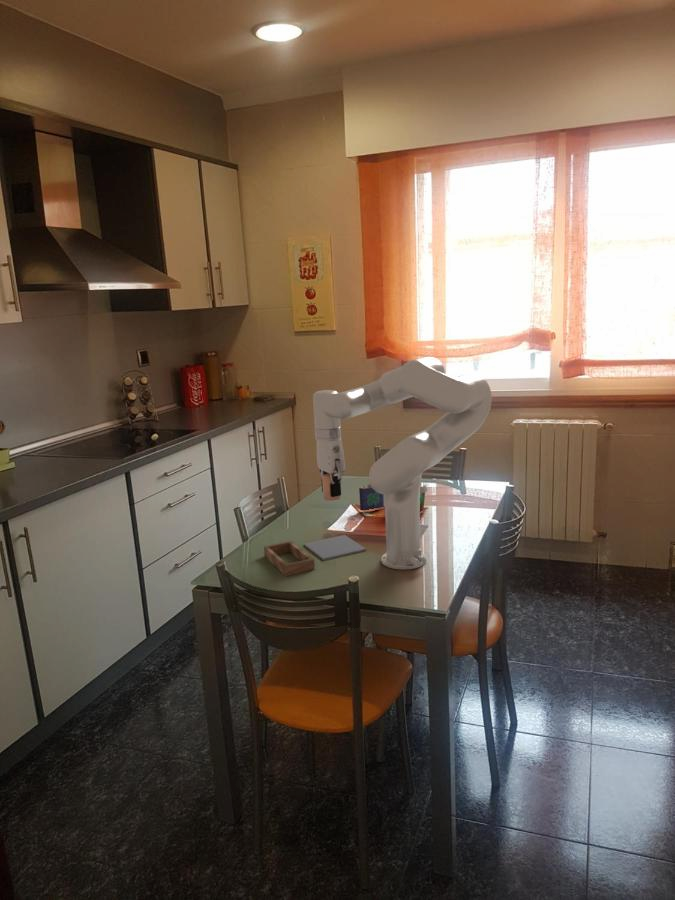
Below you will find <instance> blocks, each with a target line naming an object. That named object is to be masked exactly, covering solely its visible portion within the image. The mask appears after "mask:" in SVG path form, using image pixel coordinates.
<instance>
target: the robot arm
mask: <svg viewBox="0 0 675 900" xmlns="http://www.w3.org/2000/svg"><path fill="white" fill-rule="evenodd" d="M445 372H446V370H445V367H444V365H443V363H442V362H441V361H440V360H439V359H438V358H437V357H436V358H435V357H433V356H424V357H420V358H415V359H412V360H409V361H407V362H405V363H404V364H403V365H402V366H399V367H397V368H393V369H391V370H389V371H386V372H385V373H383V374H382V375H381V377H380V378H379V379H377V380H375V381H373V382H372V381H371V382H370V383H368V384H365V385H362V386H359V387H356V388H352V389H349V390H346V391H342V392H338V391H337V390H335V389H325V390H324V389H323V390H317V391H315V392H314V393H313V395H312V402H313V403H312V404H313V421H314V434H315V435H314V436H315V437H314V438H315V440H316V465H317V468H318V469H319V472H320V473H319V474H320V479H321V481H320V482H322V475H323V474H326V473H329V474H330V479H331V484H330V494H331V497H336V496H340V497H341V495H342V486H341V485H342V478H343V477H344V472H345V471H346V460H345V453H344V451H345V450H344V447H343V441H342V425H341V424H342V423H341V421H342V420H348V419H351V418H355V417H357V416H360V415H363V414H366V413H370V412H371V411H374V410H376V409H379V408H382V407H385V406H387V405H390V404H392V405H393V404H397V403H399V402H402V401H405V400H407V399H410V398H413V397H414V398H416V399H418V400H420V401H422V402H423V403H426V404H428V405H430V406H431V407H435V408H437V409H438V410H441V411H443V412H444V413H445V412H446V413H445V414H443V415H442V416H441V417H440V418H439V419H438V420H436V421H435V422H433V423H432V424H431V425H429V426H428V427H427V428H425V429H423V430H421V431H419V432H417V433H414V434H412V435H409V436H407V437H406V438H404V439H403V440H401V441H400V442H398V443H397V444H396V445H395V446H393V447H392V448H391V449H390V450H388V451H387V452H386V453H385V454H383V455H382V456H381V457H380V458H379V459H377V460H376V461H375V462H374V463H373V464H372V465H371V467H370V469H369V472H368V482H369V484H370V485H371V487H372V488H373V489H374V490H375V491H376V492H378V493H380V494H384V496H385V497H384V514H385V515H384V518H385V546H386V552H385V553H384V554H382V556H381V559H380V561H381V562H380V563H381V564H382V565H383V566H385V567H386V568H390V569H393V570H405V571H406V570H414V569H417V568H420V567H423V566H424V565H425V564H426V563H427V555H425V553H423V552H422V548H421V518H420V517H421V515H420V487H421V482H422V476H423V475H422V474H423V473H424V472H425V471H427V470H429V469H431V468H432V467H434V466H436V465H437V464H439V463H440V461H442V460H443V459H444V458H445V457H446V456H447V455H448V454H450V453H451V452H452V451H454V450H455V449H457V448H458V447H459V446H460V445H461V444H462V443H464V442H465V441H466V440H467V439H470V437H471V436H472V435H473V434H475V433H476V432H477V431H478V430H479V429H480V428H481V427H482V425H483V424H484V423H485V422H486V419H487V418H488V416H489V413H490V410H491V409H492V408H491V407H492V400H493V399H492V390H491V387H490V385H489V383H488V381H487V380H486V379H485V378H484V377H482V376H480V375H479V374H474V373H467V374H462V375H460V376H455V377H451V376H450V375H447V374H446V373H445ZM334 471H336V472H334ZM335 474H337V475H336V476H335V477H333V475H335ZM321 492H322V493H323V484H322V483H321Z"/></svg>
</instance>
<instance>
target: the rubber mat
mask: <svg viewBox="0 0 675 900" xmlns="http://www.w3.org/2000/svg"><path fill="white" fill-rule="evenodd" d="M303 546H304V547H305V548H306V549H308V550H309V551H310V552H312V553H313V554H314V555H315V556H317V557H318V558H319V559H321V560H322V561H327V560H331V559H332V560H333V559H336V558H340V557H345V556H349V555H354V554H356V553H361V552H366V551H367V548H366V547H365V546H362V545H361V544H360V543H358V542H356V541H355V540H353V539H351V538H350V537H349V536H347V535H346V534H343V535H338V536H333V537H329V538H324V539H319V540H314V541H311V542H305V543H303Z"/></svg>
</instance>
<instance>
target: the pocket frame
mask: <svg viewBox="0 0 675 900" xmlns="http://www.w3.org/2000/svg"><path fill="white" fill-rule="evenodd" d="M263 552H264V553H263V554H264V557H265V558H266V559H267V560H268V561H269V562H270V563H271V564H272V565H274V567H275V568H276V569H278V570H279V571H280V572H281V573H282V574H283V576H285V577H288V576H292V575H297V574H301V573H304V572H310V571H313V570H315V558H313V557H312V556H311V555H309V553H307V552H306V551H304V550H303V549H302V548H301V547H299V546H298V545H297V544H296V543H294V542H293V541H292V540H288V541H284V542H278V543H274V544H269V545H265V546H263ZM286 553H290V554H292V555H293V556H294V557H295V558H297V560H298V561H294V562H289V563H287V562H286V561H285V560H284V559H282V557H280V556H279V555H282V554H286Z"/></svg>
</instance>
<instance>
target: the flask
mask: <svg viewBox="0 0 675 900" xmlns="http://www.w3.org/2000/svg"><path fill="white" fill-rule="evenodd" d="M358 490H359V509H360V510H369V509H374V508H380V507H384V508H385V497H384V496H385V495H384V494H380V493H378V492H376V491H375V490H374V489H373V488H372V487H371V485H370V483H369V484H368V485H367V484H366V485H362V486H361V487H359V489H358Z"/></svg>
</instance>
